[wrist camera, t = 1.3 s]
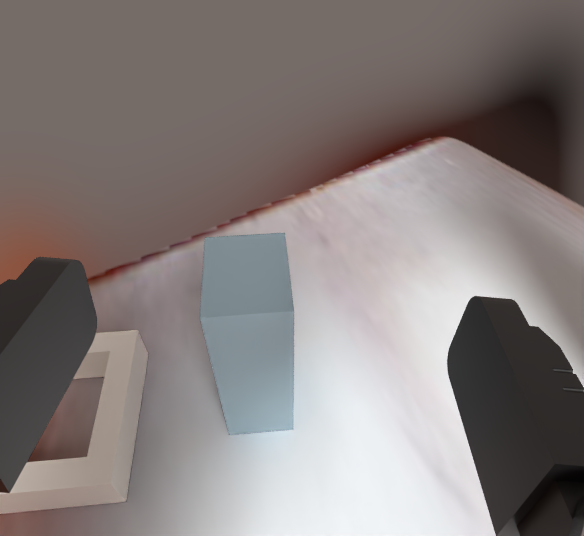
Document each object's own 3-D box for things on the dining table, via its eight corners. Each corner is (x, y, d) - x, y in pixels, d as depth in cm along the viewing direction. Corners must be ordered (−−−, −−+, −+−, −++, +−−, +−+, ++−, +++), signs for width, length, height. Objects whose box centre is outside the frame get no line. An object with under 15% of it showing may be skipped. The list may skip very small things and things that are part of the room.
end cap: (148, 354, 31) (137, 329, 29) (126, 501, 25) (110, 484, 23) (22, 364, 31) (2, 339, 29) (-34, 517, 24) (-66, 500, 22)
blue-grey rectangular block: (286, 359, 31) (284, 232, 22) (293, 429, 28) (293, 310, 19) (229, 364, 31) (204, 237, 22) (228, 435, 27) (199, 317, 19)
